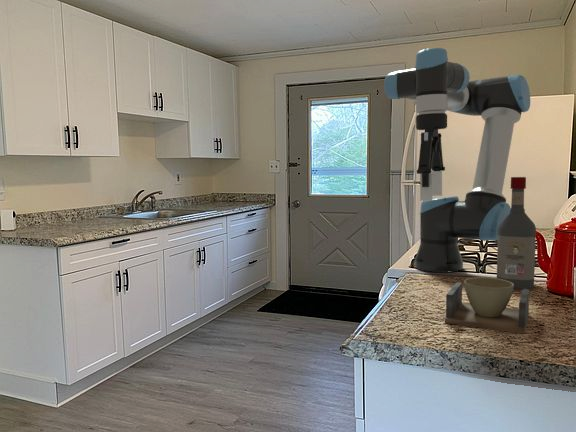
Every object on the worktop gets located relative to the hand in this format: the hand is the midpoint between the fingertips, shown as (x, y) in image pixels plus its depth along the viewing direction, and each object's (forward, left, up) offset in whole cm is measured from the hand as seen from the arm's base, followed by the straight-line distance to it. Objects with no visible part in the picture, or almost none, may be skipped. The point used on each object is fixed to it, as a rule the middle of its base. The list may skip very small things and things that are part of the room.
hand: (431, 198), depth 122 cm
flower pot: (+14, +16, -25) cm, 32 cm away
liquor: (-19, +19, -26) cm, 37 cm away
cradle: (+14, +16, -25) cm, 33 cm away
